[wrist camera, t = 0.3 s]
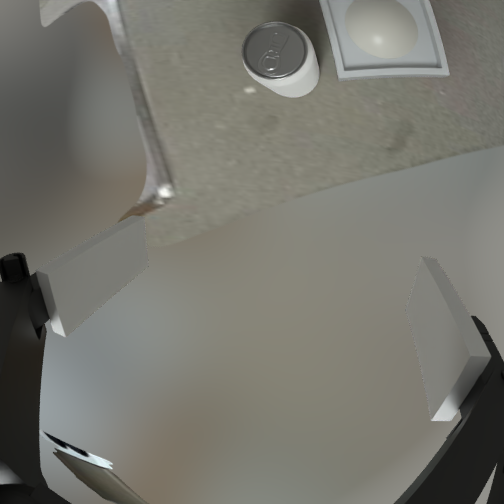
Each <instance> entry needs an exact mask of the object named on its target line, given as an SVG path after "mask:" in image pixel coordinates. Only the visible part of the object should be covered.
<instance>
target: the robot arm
mask: <svg viewBox="0 0 504 504" xmlns="http://www.w3.org/2000/svg"><path fill="white" fill-rule="evenodd" d="M147 267H148V255H147V243H146V230H145V217H141V216H131V217H129V218H127V219H125V220H123V221H121V222H119V223H117V224H115V225H113V226H112V227H110V228H108V229H106V230H104V231H102V232H100V233H99V234H97V235H95V236H93V237H91V238H90V239H88V240H86V241H84V242H82V243H81V244H79V245H77V246H75V247H74V248H72V249H70V250H68V251H67V252H65V253H63V254H61V255H60V256H58V257H56V258H55V259H53V260H51V261H50V262H48V263H46V264H45V265H43V266H41V267H40V268H38V269H37V270H36V272H35V273H34V274H32V275H31V276H30V274H29V270H28V266H27V262H26V257H25V255H24V254H23V253H12V254H9V255H6V256H4V257H2V258H1V259H0V275H1V278H2V282H0V504H71V503H70V502H68V501H67V500H65V499H63V498H62V497H61V496H59V495H58V494H56V493H55V492H54V491H52V490H50V489H49V488H48V485H47V483H46V481H45V479H44V477H43V475H42V472H41V468H40V450H39V449H40V448H39V411H40V410H39V409H40V407H39V406H40V389H41V376H42V365H43V356H44V347H45V339H46V333H47V331H46V327H45V324H44V323H45V322H47V321H48V320H49V319H50V322H51V325H52V328H53V331H54V332H56V333H58V334H60V335H62V336H64V337H67V336H68V335H69V334H70V333H71V332H72V331H74V330H75V329H76V328H77V327H78V326H79V325H80V324H82V323H83V322H84V321H85V320H86V319H87V318H88V317H89V316H91V315H92V314H93V313H94V312H95V311H96V310H98V308H100V307H101V306H102V305H103V304H105V303H106V302H107V301H108V300H109V299H110V298H111V297H112V296H114V295H115V294H116V293H117V292H118V291H120V290H121V289H122V288H123V287H125V286H126V285H127V284H128V283H129V282H131V281H132V280H133V279H134V278H135V277H136V276H138V275H139V274H140V273H141V272H143V271H144V270H145V269H146V268H147ZM405 311H406V314H407V317H408V321H409V324H410V328H411V332H412V335H413V339H414V343H415V347H416V351H417V355H418V359H419V363H420V367H421V372H422V377H423V381H424V386H425V391H426V396H427V401H428V406H429V412H430V418H431V421H451V420H452V418H453V417H454V415H455V414H456V413H457V411H458V410H459V409H460V413H461V416H462V418H461V420H460V421H459V422H458V424H457V425H456V426H455V428H454V429H453V430H452V431H451V433H450V434H449V435H448V437H447V440H446V441H445V442H444V444H443V445H442V447H441V448H440V449H439V451H438V452H437V454H436V455H435V456H434V457H433V459H432V460H431V461H430V462H429V464H428V465H427V467H426V468H425V469H424V470H423V471H422V472H421V474H420V475H419V476H418V477H417V478H416V480H415V481H414V482H413V483H412V485H410V487H409V488H408V489H407V490H406V491H405V492H404V493H403V494H402V495H401V497H400V498H399V499H398V500H397V501H396V502H395V503H394V504H475V502H476V501H477V498H478V497H479V496H480V494H481V492H482V490H483V488H484V487H485V485H486V483H487V481H488V479H489V477H490V476H491V474H492V472H493V470H494V468H495V466H496V464H497V466H496V471H495V475H494V479H493V483H492V486H491V490H490V494H489V497H488V501H487V504H504V361H503V359H502V358H501V356H500V353H499V351H498V350H497V348H496V346H495V344H494V342H492V341H493V340H492V338H491V336H490V335H489V333H488V331H487V329H486V327H485V325H484V324H483V323H482V322H481V321H480V320H479V319H478V318H477V317H476V316H470V314H469V312H468V311H467V309H466V307H465V305H464V304H463V302H462V300H461V298H460V297H459V295H458V293H457V291H456V290H455V288H454V287H453V285H452V283H451V282H450V280H449V278H448V277H447V275H446V274H445V272H444V270H443V269H442V267H441V266H440V264H439V263H438V261H437V259H433V258H428V257H422V256H421V259H420V263H419V266H418V270H417V274H416V277H415V280H414V284H413V287H412V290H411V293H410V297H409V300H408V303H407V306H406V309H405Z"/></svg>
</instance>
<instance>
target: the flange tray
mask: <svg viewBox="0 0 504 504" xmlns="http://www.w3.org/2000/svg"><path fill="white" fill-rule="evenodd" d="M319 3H320V6H321V10H322V14H323V17H324V21H325V25H326V29H327V32H328V36H329V41H330V45H331V49H332V53H333V58H334V62H335V67H336V71H337V76H338V81H346V80H358V79H372V78H394V77H443V78H444V77H447V76H449V75H450V74H449V69H448V65H447V60H446V56H445V52H444V48H443V44H442V40H441V37H440V33H439V30H438V26H437V23H436V20H435V17H434V13H433V10H432V7H431V4H430V2H429V0H319Z"/></svg>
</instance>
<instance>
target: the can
mask: <svg viewBox="0 0 504 504" xmlns="http://www.w3.org/2000/svg"><path fill="white" fill-rule="evenodd" d="M242 58H243V63H244V66H245V68H246V70H247V71H248V73H249V74H250V75H251V76H252V77H253V78H254V79H255V80H256V81H258V82H259V83H261V84H262V85H264V86H266V87H267V88H269V89H271V90H272V91H274V92H276V93H278V94H280V95H282V96H286V97H301V96H304V95H306V94H308V93H309V92H311V91H312V90H313V89H314V88H315V86H316V85H317V83H318V80H319V66H318V62H317V58H316V55H315V51H314V48H313V45H312V43H311V41H310V39H309V38H308V36H307V35H306V34H305V33H304V32H303V31H301V30H300V29H299V28H297V27H295V26H293V25H290V24H288V23H285V22H279V21H272V22H266V23H263V24H261V25H258V26H257V27H255V28H254V29H252V30H251V31H250V32H249V33H248V35H247V36H246V38H245V40H244V42H243V45H242Z"/></svg>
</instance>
